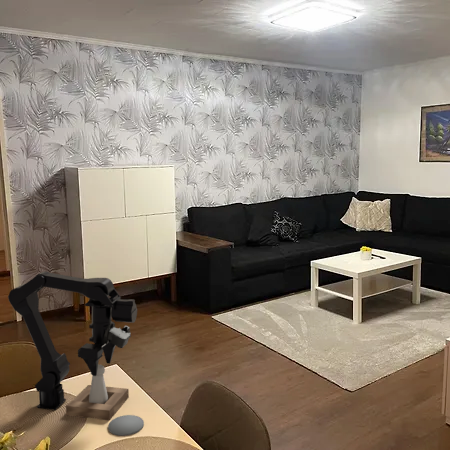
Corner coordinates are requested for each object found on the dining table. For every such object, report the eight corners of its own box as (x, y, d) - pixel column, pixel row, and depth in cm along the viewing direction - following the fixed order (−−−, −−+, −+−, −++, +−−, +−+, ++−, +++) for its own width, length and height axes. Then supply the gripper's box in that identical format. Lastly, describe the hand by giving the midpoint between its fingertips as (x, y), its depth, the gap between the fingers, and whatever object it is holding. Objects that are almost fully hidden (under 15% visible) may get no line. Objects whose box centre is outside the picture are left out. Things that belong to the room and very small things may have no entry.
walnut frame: (66, 415, 140) (65, 405, 140) (88, 393, 154) (88, 384, 153) (109, 420, 137) (109, 410, 137) (128, 397, 151) (128, 388, 151)
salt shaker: (102, 411, 142) (101, 371, 141) (85, 409, 143) (84, 369, 142) (111, 402, 148) (110, 363, 146) (94, 400, 149) (93, 361, 148)
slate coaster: (102, 433, 130) (102, 431, 130) (117, 415, 140) (117, 413, 140) (135, 437, 129) (135, 435, 128) (148, 418, 138) (148, 416, 138)
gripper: (113, 333, 131) (112, 386, 133) (138, 313, 149) (138, 360, 151) (76, 329, 133) (77, 381, 135) (106, 310, 151) (106, 356, 153)
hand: (101, 369), depth 144 cm, fingers open, 9 cm apart
